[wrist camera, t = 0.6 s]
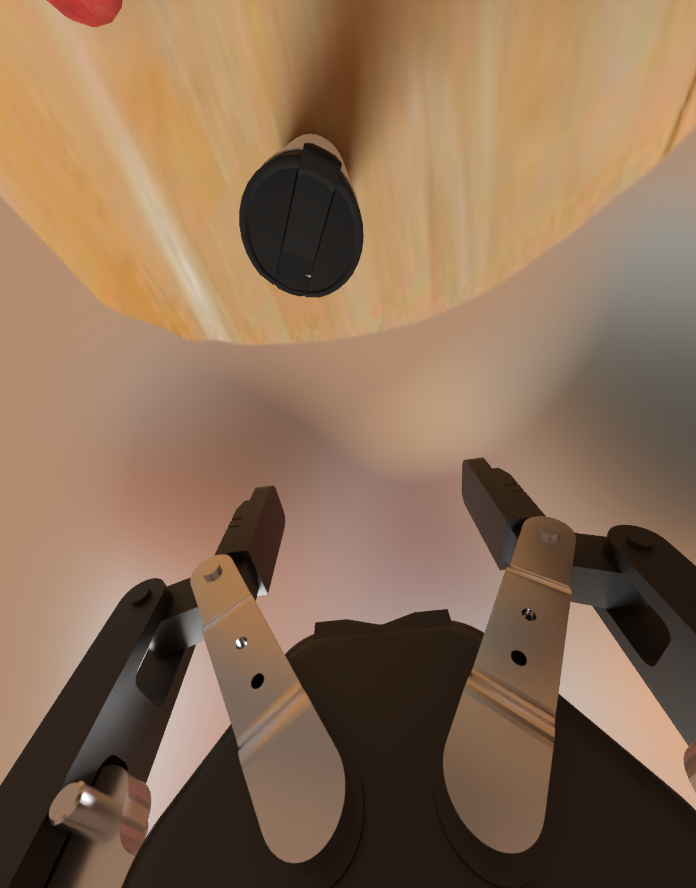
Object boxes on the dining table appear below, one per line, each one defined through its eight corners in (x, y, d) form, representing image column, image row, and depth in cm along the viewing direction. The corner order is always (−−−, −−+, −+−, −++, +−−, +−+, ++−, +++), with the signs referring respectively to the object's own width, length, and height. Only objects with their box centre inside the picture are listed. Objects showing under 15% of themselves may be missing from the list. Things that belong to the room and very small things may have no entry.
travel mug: (358, 150, 27) (391, 186, 13) (333, 232, 31) (339, 322, 18) (289, 111, 25) (246, 107, 11) (273, 205, 29) (228, 281, 16)
